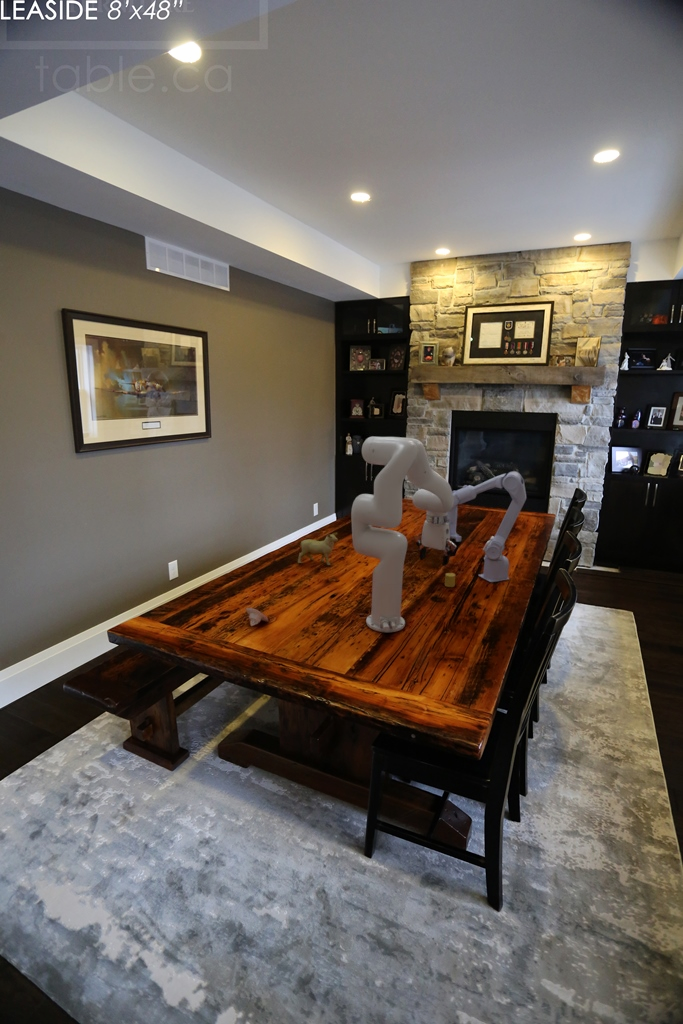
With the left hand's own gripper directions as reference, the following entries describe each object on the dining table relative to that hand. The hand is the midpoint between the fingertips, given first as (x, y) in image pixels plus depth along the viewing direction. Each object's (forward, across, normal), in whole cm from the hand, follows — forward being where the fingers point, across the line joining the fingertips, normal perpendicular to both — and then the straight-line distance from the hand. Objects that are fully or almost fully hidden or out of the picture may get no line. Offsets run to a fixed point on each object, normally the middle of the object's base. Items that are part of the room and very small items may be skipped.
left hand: (433, 561), depth 192 cm
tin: (+10, -5, -5) cm, 12 cm away
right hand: (+3, +4, -19) cm, 20 cm away
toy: (+10, +50, +11) cm, 52 cm away
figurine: (+11, -5, -44) cm, 46 cm away
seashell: (+9, +28, +66) cm, 72 cm away
